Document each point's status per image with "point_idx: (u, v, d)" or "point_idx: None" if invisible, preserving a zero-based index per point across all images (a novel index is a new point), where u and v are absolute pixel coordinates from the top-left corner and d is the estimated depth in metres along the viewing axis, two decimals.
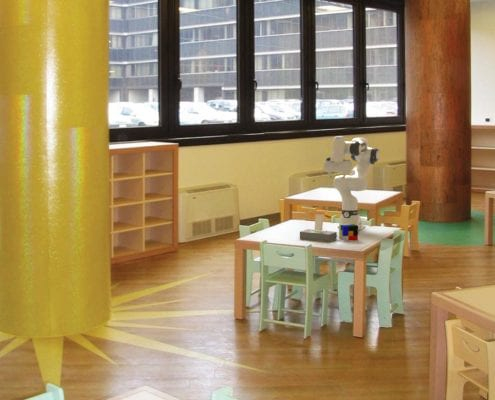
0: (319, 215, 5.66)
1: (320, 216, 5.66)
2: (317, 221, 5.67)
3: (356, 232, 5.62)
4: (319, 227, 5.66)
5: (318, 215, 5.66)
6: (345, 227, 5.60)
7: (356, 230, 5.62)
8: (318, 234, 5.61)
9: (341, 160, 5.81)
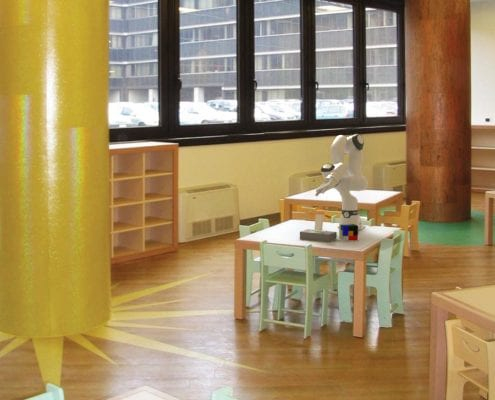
0: (319, 215, 5.66)
1: (320, 216, 5.66)
2: (317, 221, 5.67)
3: (356, 232, 5.62)
4: (319, 227, 5.66)
5: (318, 215, 5.66)
6: (345, 227, 5.60)
7: (356, 230, 5.62)
8: (318, 234, 5.61)
9: None
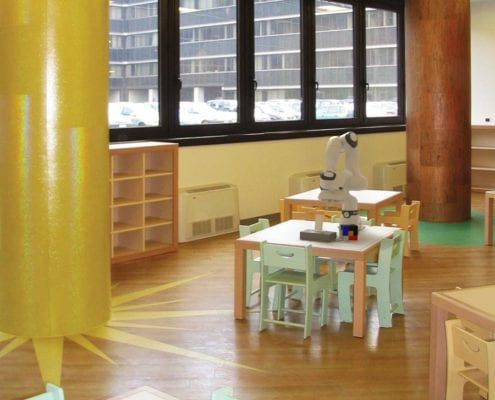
0: (319, 215, 5.66)
1: (320, 216, 5.66)
2: (317, 221, 5.67)
3: (356, 232, 5.62)
4: (319, 227, 5.66)
5: (318, 215, 5.66)
6: (345, 227, 5.60)
7: (356, 230, 5.62)
8: (318, 234, 5.61)
9: None
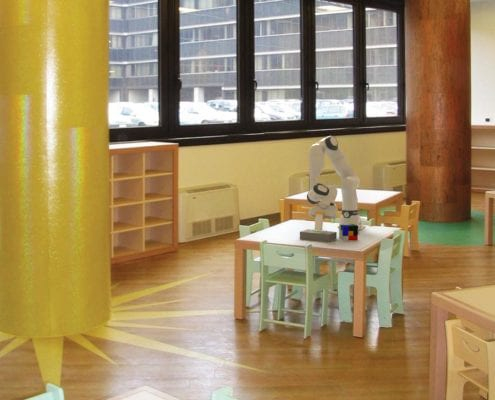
0: (319, 215, 5.66)
1: (320, 216, 5.66)
2: (317, 221, 5.67)
3: (356, 232, 5.62)
4: (319, 227, 5.66)
5: (318, 215, 5.66)
6: (345, 227, 5.60)
7: (356, 230, 5.62)
8: (318, 234, 5.61)
9: None
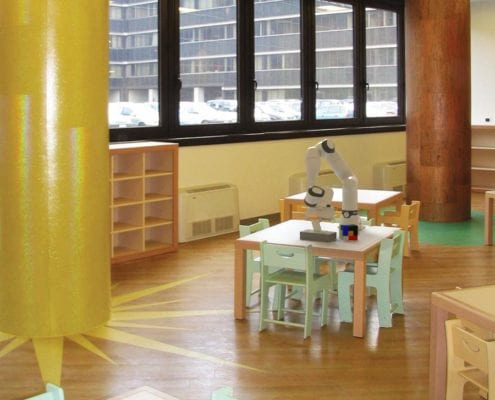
0: (314, 220, 5.60)
1: (315, 220, 5.60)
2: (314, 224, 5.63)
3: (356, 232, 5.62)
4: (318, 229, 5.64)
5: (313, 220, 5.61)
6: (345, 227, 5.60)
7: (356, 230, 5.62)
8: (318, 234, 5.61)
9: None
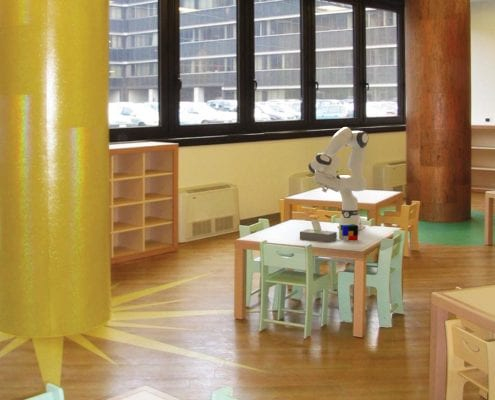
0: (314, 220, 5.60)
1: (315, 220, 5.60)
2: (314, 225, 5.63)
3: (356, 232, 5.62)
4: (318, 229, 5.64)
5: (313, 220, 5.61)
6: (345, 227, 5.60)
7: (356, 230, 5.62)
8: (318, 234, 5.61)
9: None
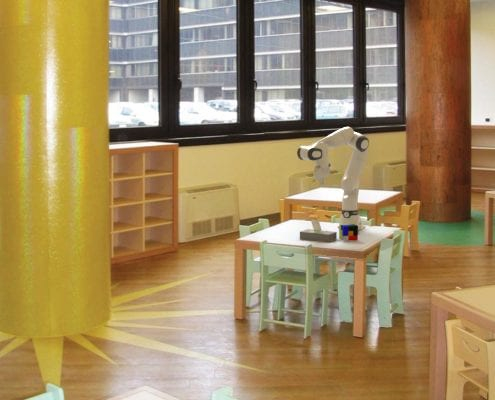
0: (314, 220, 5.60)
1: (315, 220, 5.60)
2: (314, 225, 5.63)
3: (356, 232, 5.62)
4: (318, 229, 5.64)
5: (313, 220, 5.61)
6: (345, 227, 5.60)
7: (356, 230, 5.62)
8: (318, 234, 5.61)
9: (316, 166, 5.78)
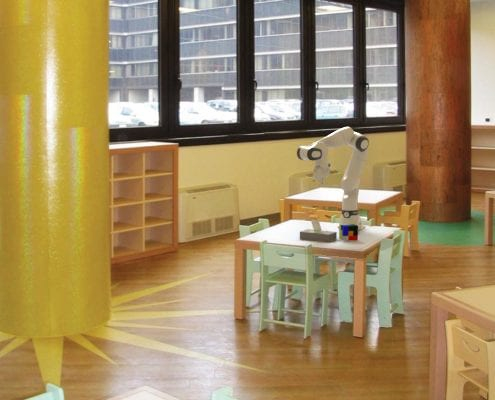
0: (314, 220, 5.60)
1: (315, 220, 5.60)
2: (314, 225, 5.63)
3: (356, 232, 5.62)
4: (318, 229, 5.64)
5: (313, 220, 5.61)
6: (345, 227, 5.60)
7: (356, 230, 5.62)
8: (318, 234, 5.61)
9: (316, 166, 5.78)
